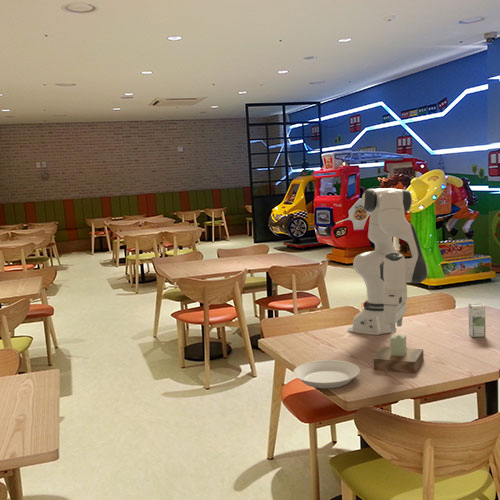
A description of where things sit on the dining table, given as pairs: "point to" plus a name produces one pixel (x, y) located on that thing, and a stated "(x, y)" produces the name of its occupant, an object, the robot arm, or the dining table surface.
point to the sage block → (398, 345)
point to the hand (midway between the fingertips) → (396, 329)
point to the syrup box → (477, 320)
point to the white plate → (326, 373)
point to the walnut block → (398, 360)
